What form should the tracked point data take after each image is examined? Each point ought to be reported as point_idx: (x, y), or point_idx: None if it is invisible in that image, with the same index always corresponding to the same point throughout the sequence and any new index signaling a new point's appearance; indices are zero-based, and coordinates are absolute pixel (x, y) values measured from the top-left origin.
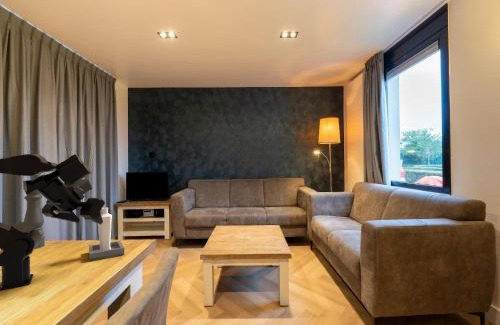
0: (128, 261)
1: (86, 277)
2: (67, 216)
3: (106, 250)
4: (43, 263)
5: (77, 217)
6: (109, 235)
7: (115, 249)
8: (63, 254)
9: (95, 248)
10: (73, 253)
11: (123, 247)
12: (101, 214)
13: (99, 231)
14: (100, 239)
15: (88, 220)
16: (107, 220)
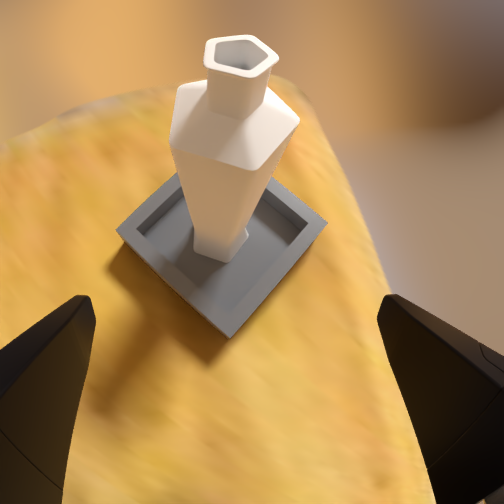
0: (386, 293)
1: (354, 459)
2: (48, 448)
3: (273, 274)
4: None
5: (73, 324)
6: (258, 201)
7: (304, 250)
8: (37, 288)
9: (148, 224)
10: (66, 268)
11: (319, 217)
12: (215, 121)
13: (203, 212)
14: (208, 230)
15: (430, 474)
16: (277, 156)
